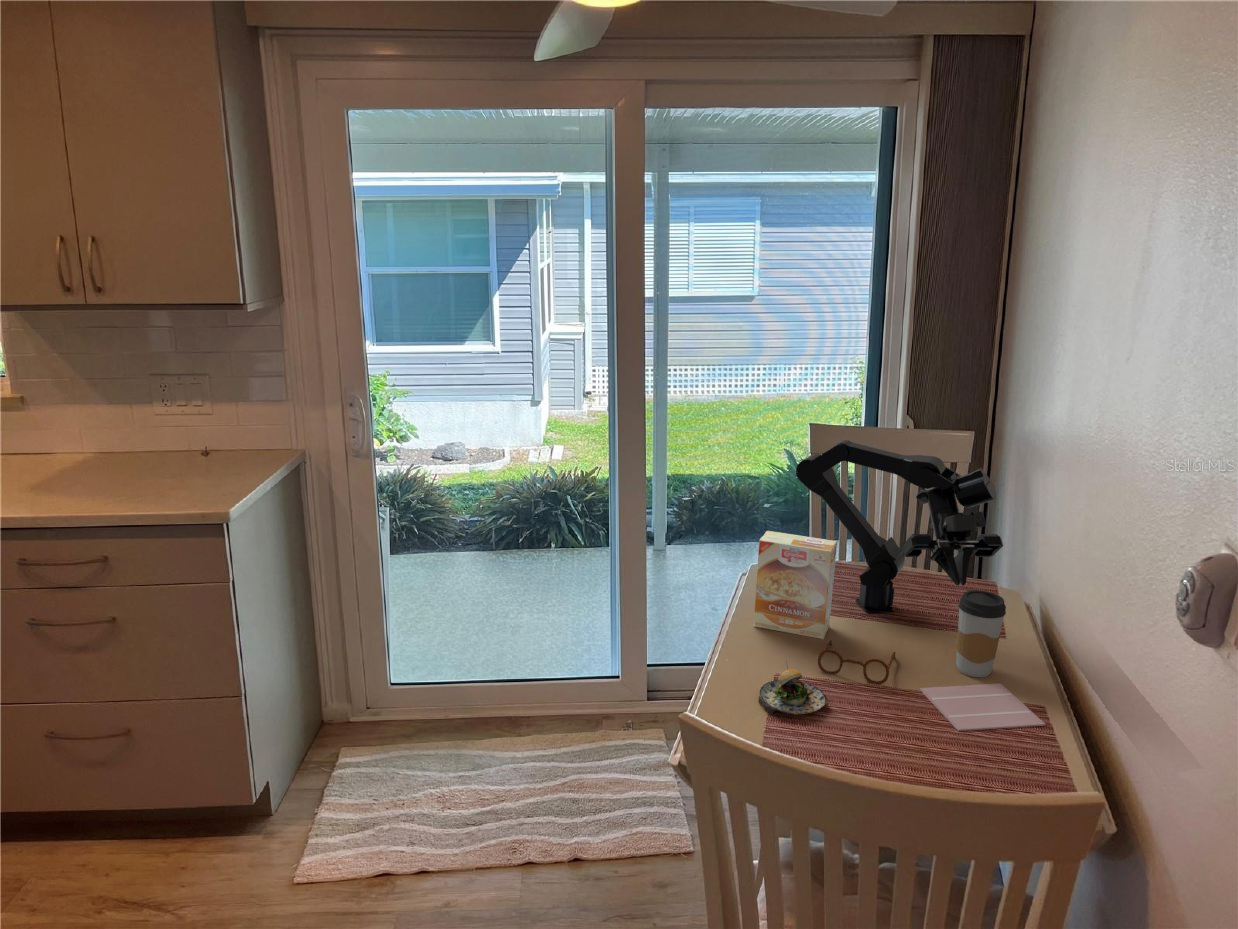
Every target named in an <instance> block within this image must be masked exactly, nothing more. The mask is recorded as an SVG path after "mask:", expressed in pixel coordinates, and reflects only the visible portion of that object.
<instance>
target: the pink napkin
mask: <svg viewBox="0 0 1238 929" xmlns="http://www.w3.org/2000/svg"><path fill="white" fill-rule="evenodd" d="M919 691H920V692H921V693H922V694H923V695H924V696H925V697H926V698H927V700H929V701H930V703H932V704H933V706H934V707H935V708H936V709H937V710H938V711H939V713H941V715H942V716H943V717H945V719H946V720H947V721H948V722H949V723H950V724H951V725H952V726H953V727H954V729H957V731H958V732H963V731H964V732H965V731H980V730H981V731H982V730H998V729H1008V728H1009V729H1011V728H1012V729H1013V728H1027V727H1028V728H1029V727H1045V726H1046V723H1045V722H1044V721H1043V720H1041V718H1039V717H1038V716H1037V715H1036V713H1034V712H1033V711H1032V710H1031V709H1030V708H1029V707H1027V706H1026V705H1025V704H1024V703H1023V702H1022V701H1021V700H1020V699H1018V698H1017V697H1016V696H1015V695H1014V694H1013V693H1012V692H1011V691H1009V689H1008V688H1006V686H1004V685H1003V684H1002V683H985V684H969V685H952V686H950V685H949V686H934V687H932V686H929V687H919Z"/></svg>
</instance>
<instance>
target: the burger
mask: <svg viewBox="0 0 1238 929" xmlns="http://www.w3.org/2000/svg"><path fill="white" fill-rule="evenodd" d="M786 663H788V661H787V659H786ZM786 667H787V669H786V670H784V671H783V672H782V673H781V674H780V675H779V677H778V679H774V680H770V681H768V682H765V684H763V685H762V686H761V687H760V690H759V696H758V703H759V705H760V707H761V708H763V710H764V711H766V712H767V713H768V714H770V715H773V714H774V713H775V711H778V712H780V713H783V714H790V715H805V714H810V713H811V714H812V713H813V712H814V713H815V712H817V711H820V709H821V708H823V707H824V706H826V703H827V702H828V696H827V695H826V694H824V693H823V690H822V689H821V690H820V689H819V687H817V686H815V685H813V684H810V683H808V682H804V681H801V680H800V679H802V678H803V675H802V673H801V672H800V671H798V670H797V669H789V666H788V665H786Z"/></svg>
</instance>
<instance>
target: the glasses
mask: <svg viewBox="0 0 1238 929" xmlns="http://www.w3.org/2000/svg"><path fill="white" fill-rule="evenodd" d="M832 644H833V640H832V639H829V641H828V642H827V644H825V645H826V646H825V647H824V648H823V649H822V651H820V653H819V654H818V657H817V666H818V669H819V670H820V671H821V672H822V673H823V674H826V673H827V674H828V675H831V674H833V675H837V674H838V673H840V671H841V670H842V668H843V665H844V663H850V664H854V665H859V666H861V667H862V673H863V677H864V679H865V681H867V682H869V683H870V684H874V685H882V684H885V682H887V681H888V678H889V676H890V668H891V666H892V663H893V662H894V659H895V657H896V651H892V653H891V656H890V660H889V662H888V664H887V663H886V662H885V661H884V660H882V659H879V658H870V659H867V660H866V661H865V662H864V663H863V662H862V661H860V660H856V659H851V658H845V659H844V657H843V655H841V653H839V652H838V651H836V650H835V649H831V648H830V646H832ZM829 648H830V649H829ZM825 654H834V655H835V656H837V658H838V659H839V666H838V668H837V669H836V670H833V671H831V670H830V671H829V670H827V669H825V668H824V667H823V665H822V661H821V660H822V658H823V656H824V655H825ZM871 663H879V664H881V665H882V666H883V667H884V669H885V675H884V678H882V679H881V680H874V679H871V678H870V677H869V676H868V674H867V668H868V665H869V664H871ZM827 674H826V675H827ZM833 675H832V676H833Z"/></svg>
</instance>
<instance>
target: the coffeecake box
mask: <svg viewBox="0 0 1238 929" xmlns="http://www.w3.org/2000/svg"><path fill="white" fill-rule="evenodd" d="M758 541H759V542H758V543H759V544H758V552H757V553H758V554H757V566H756V567H757V568H756V569H757V570H756V583H755V598H754V612H753V613H754V614H753V627H754V628H755V627H756V628H760V629H765V630H771V631H777V632H783V633H787V634H793V635H799V636H804V637H809V638H816V639H821V640H824V639H825V637H826V634H827V632H828V630H829V627H830V623H831V611H832V601H833V591H834V578H835V568H836V559H837V558H836V557H837V546H838V541H837V540H831V539H824V538H819V537H813V536H804V535H800V534H799V535H798V534H794V533H793V534H792V533H785V532H778V531H771V530H766V531H765V533H764V534H763V536H761V537H760V538H759V540H758Z"/></svg>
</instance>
